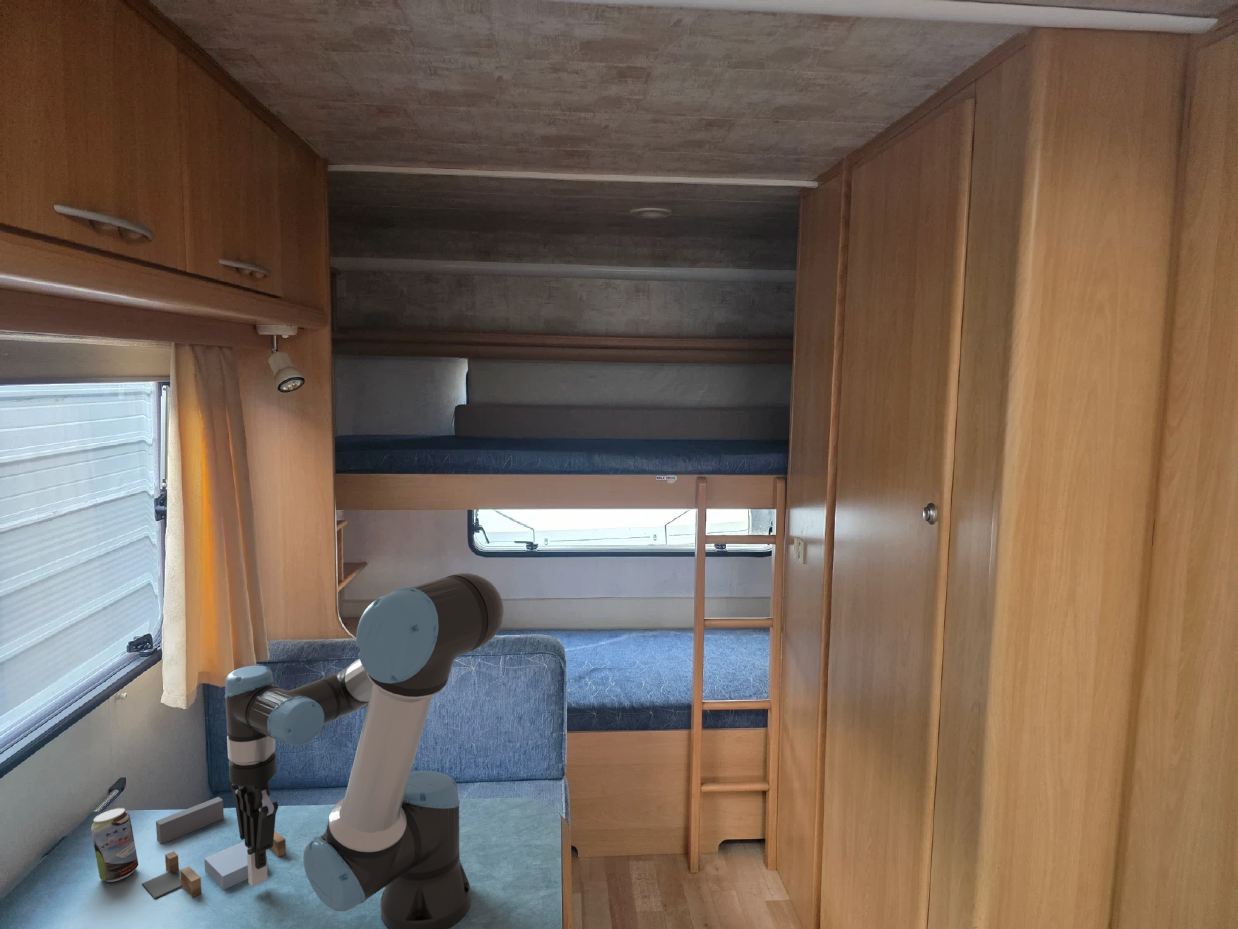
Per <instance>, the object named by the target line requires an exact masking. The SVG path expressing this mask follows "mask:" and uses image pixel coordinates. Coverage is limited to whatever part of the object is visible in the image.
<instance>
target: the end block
mask: <svg viewBox="0 0 1238 929" xmlns="http://www.w3.org/2000/svg"><path fill="white" fill-rule="evenodd" d="M224 817H225V814H224V800H223V798H222V797H220V796H217V797H214V798H212V799H209V800H207V801H205V802H202V803H198V804H196V805H193V806H190V807H189V808H185V809H183V810H181V811H178V812H175V813H173V814H171V815H168V816H165V817H162V818H160V819H158V820H155V829H156V830H155V831H156V841H158V843H159V844H160V845H162V844H164V843H167V842H169V841H172V840H175V839H177V838H180V837H182V836H184V835H187V834H189V833H191V832H194V831H196V830H199V829H201V828H204V827H206V826H208V825H211V824H213V823H215V822H219V821H220V820H224Z"/></svg>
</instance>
